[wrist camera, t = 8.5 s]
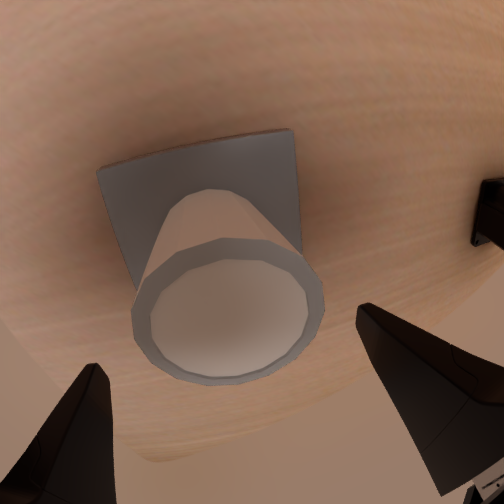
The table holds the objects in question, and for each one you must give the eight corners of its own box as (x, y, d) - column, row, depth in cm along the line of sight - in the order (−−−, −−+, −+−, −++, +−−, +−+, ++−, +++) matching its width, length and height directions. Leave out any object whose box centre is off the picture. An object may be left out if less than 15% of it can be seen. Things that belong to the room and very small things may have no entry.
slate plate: (287, 128, 15) (293, 130, 14) (298, 282, 20) (303, 290, 19) (101, 167, 14) (95, 171, 13) (152, 314, 19) (151, 324, 18)
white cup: (242, 152, 14) (287, 196, 8) (292, 257, 17) (344, 341, 11) (124, 219, 14) (88, 303, 8) (190, 308, 18) (199, 405, 12)
